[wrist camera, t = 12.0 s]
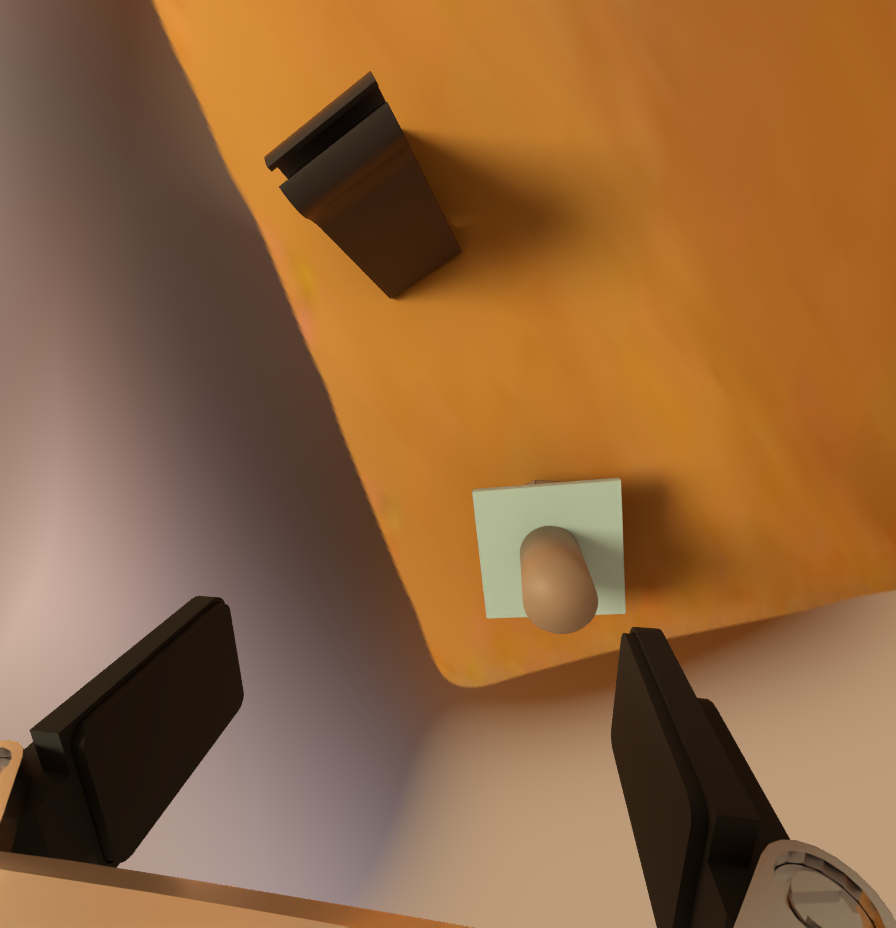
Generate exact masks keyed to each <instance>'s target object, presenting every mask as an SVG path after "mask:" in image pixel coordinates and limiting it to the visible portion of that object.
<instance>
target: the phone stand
mask: <svg viewBox="0 0 896 928" xmlns="http://www.w3.org/2000/svg"><path fill="white" fill-rule="evenodd" d="M265 162H266V165H267V167H268V168H269V169H270V170H271V171H273V170H274V169H276V168H277V167H278V168H279V169H280V170H281V172H282V173H283V174H284V175H285V176H286V177H287V179H288V180H287V181H285V182H284V183H283V184H282V185H280V186H279V188H280V189H281V191H282V192H283V193H284V195H285V196H286V197H287V199H288V200H289V201H290V203H291V204H292V205H293V206H294V207H295V208H296V210H297V211H298V212H299V213H300V214H301V215H303V216H304V217H305V218H307V219H309V220H311V221H313V222H314V223H315V224H317V225H318V226H319V227H320V228H321V229H322V230H323V231H324V232H325V233H326V234H327V235H328V236H329V237H330V238H331V239H332V240H333V241H334V242H335V243H336V244H337V245H338V246H339V247H340V248H341V249H342V250H343V251H344V252H345V253H346V254H347V255H348V256H349V257H350V258H351V259H352V260H353V261H354V262H355V263H356V264H357V266H358V267H359V268H360V269H361V270H362V271H363V272H364V273H365V274H366V275H367V276H368V277H369V278H370V279H371V280H372V281H373V282H374V283H375V284H376V285H377V286H378V287H379V288H380V289H381V290H382V291H383V292H384V293H385V294H386V295H387V296H388V297H389V298H390V299H391V298H393V297H394V296H396V295H397V294H399V293H400V292H402V291H403V290H405V289H406V288H408V287H409V286H411V285H412V284H414V283H415V282H417V281H418V280H420V279H421V278H423V277H424V276H426V275H427V274H429V273H430V272H432V271H434V270H435V269H437V268H438V267H440V266H441V265H443V264H444V263H446V262H447V261H449V260H450V259H452V258H453V257H455V256H456V255H458V254H459V253H461V252H462V251H461V249H460V247H459V245H458V243H457V241H456V239H455V237H454V235H453V233H452V231H451V229H450V227H449V225H448V223H447V221H446V219H445V217H444V215H443V213H442V211H441V209H440V207H439V205H438V203H437V201H436V199H435V197H434V195H433V193H432V191H431V189H430V187H429V185H428V183H427V181H426V179H425V177H424V175H423V173H422V171H421V169H420V167H419V165H418V163H417V161H416V159H415V157H414V155H413V153H412V151H411V148H410V146H409V144H408V142H407V140H406V138H405V136H404V134H403V132H402V130H401V128H400V126H399V124H398V122H397V120H396V118H395V116H394V114H393V112H392V110H391V108H390V106H389V104H388V102H386V101H385V99H384V97H383V95H382V93H381V91H380V89H379V87H378V84H377V82H376V80H375V78H374V76H373V74H372V72H371V71H370V72H368V73H367V74H366V75H365V76H363V77H362V78H361V79H360V80H358V81H357V82H356V83H355V84H354V85H352V86H351V87H350V88H349V89H347V90H346V91H345V92H344V93H342V94H341V95H340V96H339V97H338V98H336V99H335V100H334V101H333V102H331V103H330V104H329V105H328V106H326V107H325V108H324V109H323V110H322V111H320V112H319V113H318V114H317V115H315V116H314V117H313V118H312V119H310V120H309V121H308V122H307V123H306V124H304V125H303V126H302V127H301V128H299V129H298V130H297V131H296V132H294V133H293V134H292V135H291V136H290V137H288V138H287V139H286V140H285V141H283V142H282V143H281V144H280V145H278V146H277V147H276V148H275V149H274V150H272V151H271V152H270V153H269V154H267V155H266V156H265Z"/></svg>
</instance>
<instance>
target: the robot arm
mask: <svg viewBox="0 0 896 928" xmlns="http://www.w3.org/2000/svg"><path fill="white" fill-rule="evenodd" d="M243 696H244V692H243V686H242V680H241V673H240V667H239V661H238V655H237V649H236V643H235V637H234V631H233V625H232V619H231V613H230V608H229V606H228V605H226V604H225V603H224V601H223V599H222V598H219V597H206V596H196V597H194V598H193V599H191V600H190V601H189V602H187V603H186V604H185V605H184V606H183V607H181V608H180V609H179V610H178V611H176V612H175V613H174V614H173V615H171V616H170V617H169V618H168V619H166V620H165V621H164V622H163V623H162V624H160V625H159V626H158V627H157V628H155V629H154V630H153V631H152V632H150V633H149V634H148V635H147V636H145V637H144V638H143V639H142V640H141V641H139V642H138V643H137V644H136V645H134V646H133V647H132V648H131V649H129V650H128V651H127V652H126V653H124V654H123V655H122V656H121V657H119V658H118V659H117V660H116V661H114V662H113V663H112V664H111V665H109V666H108V667H107V668H106V669H105V670H103V671H102V672H101V673H100V674H98V675H97V676H96V677H95V678H93V679H92V680H91V681H90V682H88V683H87V684H86V685H85V686H83V687H82V688H81V689H80V690H79V691H77V692H76V693H75V694H74V695H72V696H71V697H70V698H69V699H68V700H66V701H65V702H64V703H62V704H61V705H60V706H59V707H58V708H56V709H55V710H54V711H53V712H51V713H50V714H49V715H48V716H47V717H45V718H44V719H43V720H42V721H40V722H39V723H38V724H37V725H35V726H34V727H33V728H32V729H30V733H31V736H32V739H33V743H31V744H30V745H29V746H28V747H27V748H25V749H23V747H22V746H21V745H20V744H19V742H15V741H11V740H3V741H0V928H473V927H468V926H462V925H456V924H450V923H445V922H439V921H433V920H427V919H422V918H415V917H410V916H404V915H398V914H393V913H387V912H381V911H375V910H370V909H364V908H358V907H352V906H346V905H340V904H334V903H328V902H322V901H316V900H310V899H304V898H298V897H292V896H286V895H280V894H274V893H268V892H262V891H255V890H250V889H244V888H238V887H232V886H226V885H219V884H214V883H208V882H202V881H196V880H189V879H183V878H176V877H170V876H163V875H158V874H152V873H145V872H139V871H132V870H126V869H119V868H117V866H118V865H119V864H120V863H122V862H124V861H126V860H127V859H128V858H129V857H130V856H131V855H132V854H133V853H134V852H135V850H136V849H137V847H138V846H139V845H140V843H141V842H142V840H143V839H144V838H145V837H146V835H147V834H148V832H149V831H150V830H151V828H152V827H153V826H154V824H155V823H156V822H157V820H158V819H159V818H160V816H161V815H162V813H163V812H164V811H165V809H166V808H167V807H168V805H169V804H170V803H171V801H172V800H173V798H174V797H175V796H176V795H177V793H178V792H179V790H180V789H181V788H182V786H183V785H184V783H185V782H186V781H187V779H188V778H189V777H190V776H191V774H192V773H193V772H194V770H195V769H196V767H197V766H198V765H199V763H200V762H201V761H202V759H203V758H204V757H205V755H206V754H207V753H208V751H209V750H210V748H211V747H212V746H213V744H214V743H215V742H216V740H217V739H218V738H219V736H220V735H221V734H222V732H223V731H224V729H225V728H226V727H227V725H228V724H229V723H230V721H231V720H232V719H233V717H234V716H235V714H236V713H237V712H238V710H239V709H240V707H241V705H242V701H243ZM611 742H612V749H613V753H614V757H615V761H616V765H617V769H618V773H619V777H620V781H621V785H622V789H623V793H624V797H625V801H626V805H627V809H628V813H629V817H630V821H631V825H632V829H633V833H634V837H635V841H636V845H637V849H638V853H639V857H640V861H641V865H642V869H643V873H644V877H645V881H646V885H647V889H648V893H649V898H650V901H651V906H652V910H653V913H654V917H655V921H656V926H657V928H896V921H895V919H894V917H893V915H892V913H891V912H890V910H889V909H888V908H887V906H886V905H885V903H884V902H883V901H882V899H881V898H880V897H879V895H878V894H877V893H876V892H875V890H874V889H873V888H871V886H869V884H868V883H867V882H866V881H865V880H863V879H862V877H860V875H859V874H858V873H856V872H855V871H854V870H852V869H851V868H850V867H848V866H847V865H846V864H844V863H843V862H842V861H840V860H839V859H838V858H836V857H835V856H833V855H831V854H829V853H827V852H825V851H823V850H821V849H820V848H818V847H816V846H813V845H810V844H807V843H803V842H800V841H797V840H790V838H789V837H788V835H787V833H786V831H785V830H784V828H783V826H782V824H781V822H780V821H779V819H778V817H777V815H776V814H775V812H774V810H773V808H772V807H771V804H770V803H769V801H768V799H767V797H766V796H765V794H764V792H763V790H762V789H761V787H760V785H759V783H758V781H757V780H756V778H755V776H754V774H753V772H752V771H751V769H750V767H749V765H748V763H747V762H746V760H745V758H744V756H743V755H742V753H741V751H740V749H739V747H738V746H737V744H736V742H735V740H734V739H733V737H732V735H731V733H730V731H729V730H728V728H727V726H726V724H725V723H724V721H723V719H722V717H721V716H720V714H719V712H718V710H717V708H716V707H715V706H714V704H713V703H712V702H711V701H710V700H708V699H702V698H697V697H696V695H695V693H694V691H693V689H692V687H691V686H690V684H689V682H688V680H687V678H686V676H685V674H684V672H683V670H682V669H681V667H680V665H679V663H678V661H677V659H676V657H675V656H674V653H673V651H672V649H671V647H670V645H669V644H668V642H667V640H666V638H665V636H664V634H663V632H662V631H661V630H660V629H655V628H641V627H632V628H631V631H630V634H628V633H623V634H622V637H621V645H620V654H619V663H618V673H617V681H616V692H615V700H614V710H613V718H612V727H611Z"/></svg>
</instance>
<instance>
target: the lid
mask: <svg viewBox="0 0 896 928" xmlns="http://www.w3.org/2000/svg"><path fill="white" fill-rule="evenodd" d="M472 494H473V503H474V511H475V520H476V529H477V538H478V546H479V555H480V564H481V573H482V581H483V590H484V599H485V608H486V616H487V618H513V617H528V618H529V619H530V620H531V621H532V622H533V623H534V624H535V625H536V626H537V627H539V628H541V629H543V630H545V631H547V632H551V633H556V634H566V633H572V632H575V631H578V630H580V629H582V628H583V627H585V626H586V625H587V624H588V623H589V622H590V621H591V620H592V619H593V617H594V616H595V615H602V614H626V610H625V581H624V552H623V523H622V494H621V480H620V479H619V478H608V479H595V480H583V481H570V482H558V483H545V484H532V485H520V486H507V487H495V488H482V489H473V491H472Z"/></svg>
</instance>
